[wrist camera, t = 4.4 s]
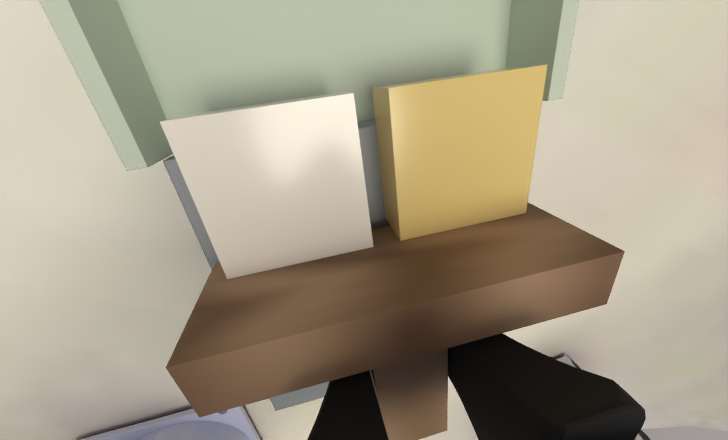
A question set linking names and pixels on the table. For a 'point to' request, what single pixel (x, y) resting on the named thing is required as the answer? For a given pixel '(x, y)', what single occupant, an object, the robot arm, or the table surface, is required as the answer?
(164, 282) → the table surface
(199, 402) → the scraper
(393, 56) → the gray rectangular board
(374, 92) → the tile mustard
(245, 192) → the tile ivory
